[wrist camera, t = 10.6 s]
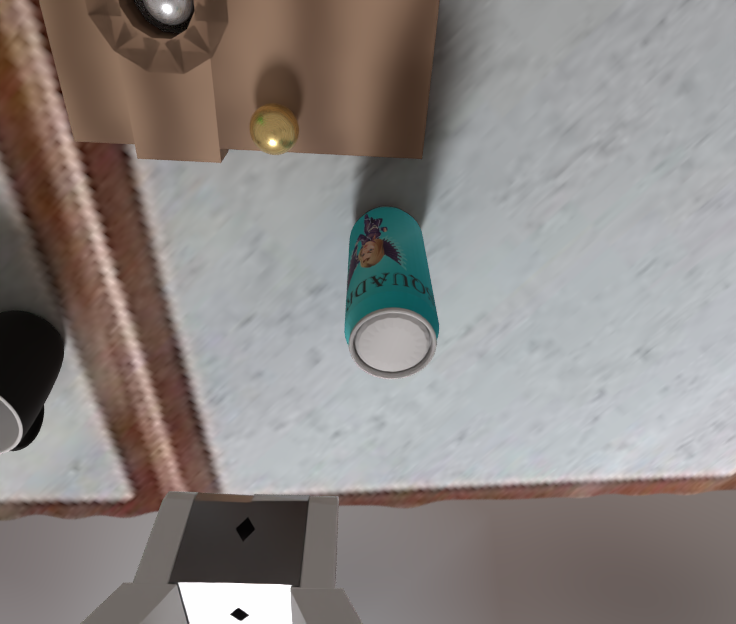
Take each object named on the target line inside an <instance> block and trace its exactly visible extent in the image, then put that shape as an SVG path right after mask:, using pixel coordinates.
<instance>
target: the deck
mask: <svg viewBox="0 0 736 624" xmlns="http://www.w3.org/2000/svg"><path fill="white" fill-rule="evenodd" d="M439 1H440V0H194V9H195V11H194V13H193V16H192V18H191V21H190V23H189V26H188V28H187V30H185V31H183V32H182V33H170V32H163V31H161V30H160V29H158V28H157V27H155V26H154V25H152V24H150V23H149V22H147V21H146V20H145V18H144V17H143V15H142V13H141V12H140V10H139V9H138V7H137V6H136V4H135V3H134V0H39V2H40V6H41V10H42V14H43V18H44V22H45V26H46V30H47V34H48V38H49V42H50V46H51V50H52V54H53V58H54V62H55V66H56V69H57V73H58V77H59V81H60V85H61V89H62V93H63V97H64V101H65V105H66V109H67V113H68V117H69V121H70V125H71V129H72V133H73V137H74V141H80V142H99V143H119V144H135V147H136V153H137V158H138V159H157V160H177V161H196V162H216V163H221V162H222V160H223V159H224V157H225V156H226V154H227V153H228V149H236V150H256V151H262V150H260V149H259V148H258V147H257V146H256V145H255V144H254V142H253V140H252V138H251V136H250V130H249V124H250V120H251V117H252V115H253V113H254V112H255V111H256V110H257V109H258V108H259V107H261V106H262V105H265V104H268V103H278V104H281V105H284V106H286V107H287V108H288V109H290V110H291V111H292V112H293V114H294V115H295V117H296V119H297V121H298V124H299V136H298V140H297V142H296V144H295V145H294V146H293V148H292V149H290V150H289V151H288V152H295V153H315V154H334V155H354V156H373V157H393V158H412V159H422V155H423V146H424V137H425V128H426V119H427V109H428V100H429V91H430V82H431V73H432V64H433V55H434V46H435V37H436V28H437V19H438V10H439Z"/></svg>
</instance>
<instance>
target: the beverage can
mask: <svg viewBox="0 0 736 624" xmlns="http://www.w3.org/2000/svg"><path fill="white" fill-rule="evenodd" d="M438 334H439V322H438V317H437V311H436V306H435V301H434V295H433V290H432V284H431V279H430V274H429V268H428V263H427V257H426V252H425V247H424V241H423V236H422V231H421V229H420V227H419V225H418V223H417V222H416V221H415V220H414V218H413V217H411V216H410V215H409V214H407V213H406V212H404V211H402V210H400V209H398V208H395V207H390V206H383V207H378V208H375V209H372V210H370V211H369V212H367V213H366V214H364V215H363V216H362V217H361V218H360V219H359V220H358V221H357V222H356V223H355V225H354V227H353V229H352V231H351V235H350V243H349V260H348V278H347V296H346V313H345V338H346V341H347V343H348V345H349V351H350V354H351V357H352V359H353V360H354V362H355V363H356V364H357V366H358V367H359V368H361V369H362V370H363V371H365V372H366V373H368V374H370V375H372V376H375V377H379V378H384V379H399V378H405V377H408V376H411V375H413V374H415V373H417V372H419V371H421V370H422V369H423V368H424V367H426V366H427V365H428V364H429V362H430V361H431V360H432V358H433V356H434V354H435V351H436V345H437V338H438Z"/></svg>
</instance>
